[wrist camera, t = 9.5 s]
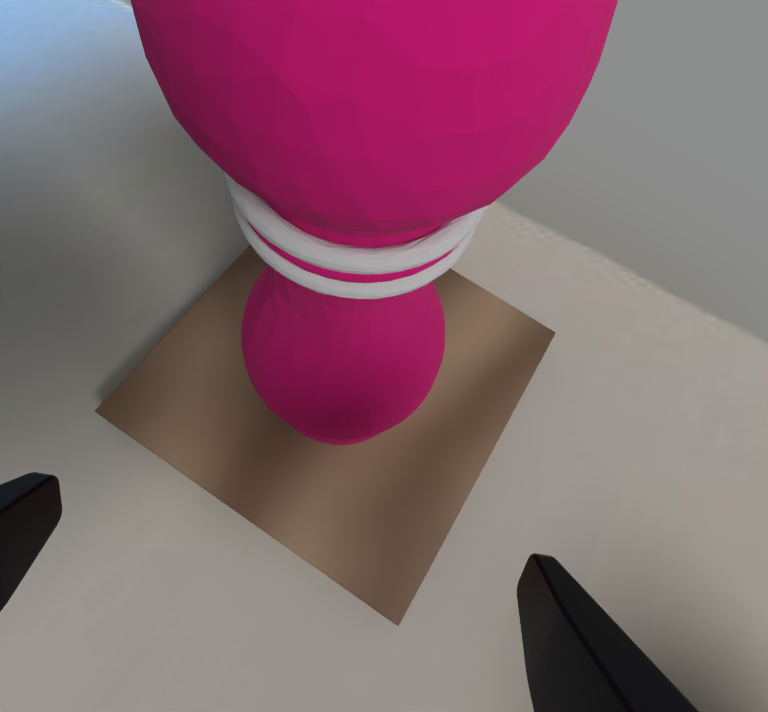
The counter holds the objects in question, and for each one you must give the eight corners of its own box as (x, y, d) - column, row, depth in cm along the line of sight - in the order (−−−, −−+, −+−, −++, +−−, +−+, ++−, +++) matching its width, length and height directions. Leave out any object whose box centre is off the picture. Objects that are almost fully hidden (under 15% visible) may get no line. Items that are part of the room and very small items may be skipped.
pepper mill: (353, 493, 19) (1173, -691, 1) (224, 387, 20) (-1017, -1348, 2) (449, 367, 22) (1189, -617, 3) (331, 277, 23) (349, -885, 4)
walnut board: (545, 341, 24) (555, 332, 23) (394, 620, 19) (398, 626, 18) (309, 197, 26) (308, 182, 24) (107, 417, 20) (94, 411, 19)
